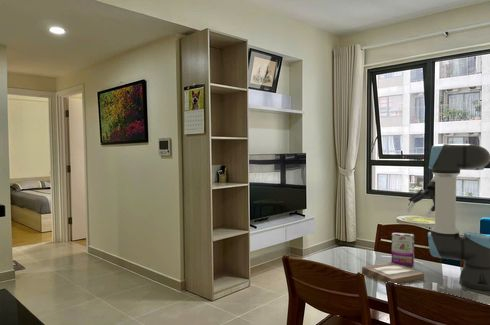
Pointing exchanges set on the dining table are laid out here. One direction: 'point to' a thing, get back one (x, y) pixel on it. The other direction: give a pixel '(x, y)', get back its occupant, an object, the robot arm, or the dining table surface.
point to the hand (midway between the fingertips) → (417, 213)
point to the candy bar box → (403, 248)
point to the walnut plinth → (393, 273)
